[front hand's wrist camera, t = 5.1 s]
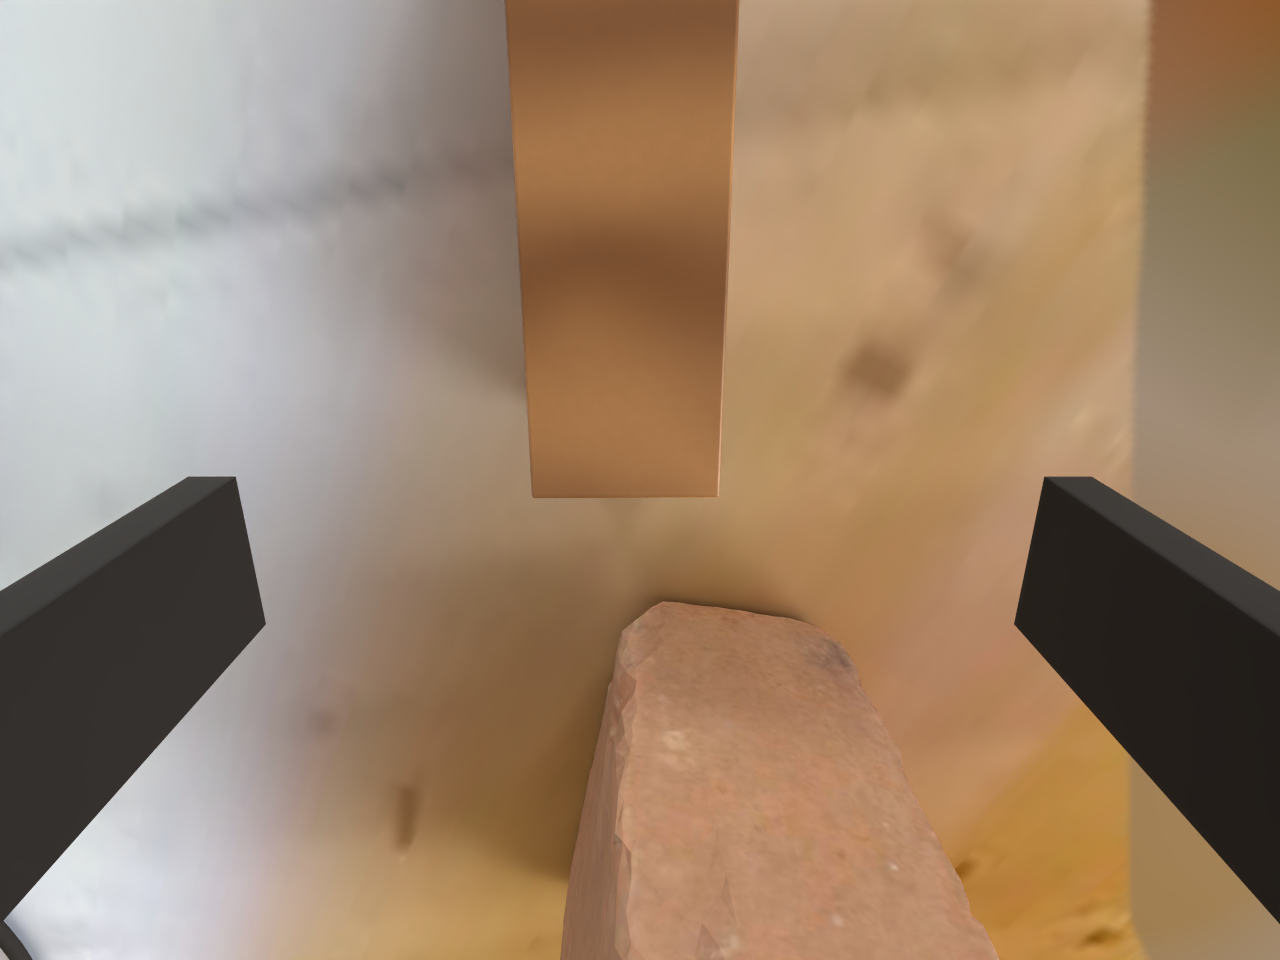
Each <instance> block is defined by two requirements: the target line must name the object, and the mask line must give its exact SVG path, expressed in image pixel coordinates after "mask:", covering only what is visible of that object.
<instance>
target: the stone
mask: <svg viewBox="0 0 1280 960" xmlns="http://www.w3.org/2000/svg"><path fill="white" fill-rule="evenodd" d="M560 960H1000V959H999V957H998V955H997V953H996V951H995V949H994V947H993V945H992V943H991V941H990V938H989V936H988V934H987V932H986V930H985V928H984V926H983V925H982V924H981V923H980V922H979V921H978V920H977V919H975V918H974V917H973V916H972V915H971V912H970V907H969V902H968V899H967V896H966V893H965V890H964V887H963V884H962V882H961V880H960V878H959V877H958V875H957V873H956V871H955V870H954V868H953V866H952V865H951V863H950V861H949V860H948V858H947V856H946V854H945V853H944V851H943V849H942V846H941V844H940V842H939V840H938V838H937V836H936V834H935V832H934V830H933V829H932V827H931V825H930V823H929V821H928V820H927V818H926V816H925V814H924V812H923V811H922V809H921V807H920V805H919V803H918V801H917V799H916V797H915V795H914V793H913V791H912V788H911V786H910V784H909V782H908V780H907V778H906V776H905V773H904V771H903V768H902V761H901V755H900V750H899V749H898V747H897V746H896V745H895V743H894V742H893V740H892V739H891V737H890V735H889V733H888V731H887V728H886V726H885V724H884V722H883V720H882V718H881V716H880V715H879V713H878V712H877V710H876V708H875V707H874V705H873V703H872V702H871V700H870V699H869V697H868V696H867V694H866V693H865V691H864V690H863V688H862V685H861V681H860V677H859V673H858V670H857V668H856V666H855V664H854V662H853V660H852V659H851V658H850V656H849V655H848V653H847V651H846V650H845V648H844V646H843V645H842V643H841V642H839V641H837V640H835V639H833V638H831V637H830V636H829V635H828V634H827V633H826V632H824V631H823V630H822V629H821V628H820V627H817V626H814V625H811V624H808V623H805V622H802V621H798V620H794V619H791V618H785V617H776V616H769V615H762V614H756V613H752V612H747V611H742V610H732V609H726V608H721V607H711V606H700V605H692V604H685V603H681V602H665V601H663V602H661V603H659V604H657V605H655V606H653V607H651V608H650V609H649V610H647V611H646V612H645V613H644V614H643V615H641V616H640V617H639V618H638V619H636V620H635V621H634V622H633V623H631V624H630V625H629V626H628V627H626V628H625V629H624V630H623V631H622V632H621V634H620V636H619V641H618V645H617V650H616V655H615V663H614V672H613V679H612V681H611V682H610V684H609V685H608V691H607V696H606V702H605V708H604V713H603V718H602V723H601V728H600V732H599V736H598V740H597V745H596V750H595V755H594V760H593V764H592V767H591V769H590V774H589V779H588V784H587V790H586V795H585V800H584V804H583V809H582V813H581V818H580V824H579V830H578V836H577V841H576V845H575V850H574V855H573V860H572V865H571V872H570V878H569V885H568V892H567V900H566V907H565V915H564V928H563V937H562V947H561V958H560Z"/></svg>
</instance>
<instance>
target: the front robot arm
mask: <svg viewBox="0 0 1280 960" xmlns="http://www.w3.org/2000/svg"><path fill="white" fill-rule="evenodd" d="M265 625H266V623H265V618H264V613H263V608H262V603H261V598H260V593H259V588H258V583H257V579H256V574H255V569H254V564H253V559H252V554H251V549H250V544H249V540H248V535H247V530H246V525H245V520H244V515H243V510H242V505H241V501H240V496H239V491H238V486H237V481H236V477H187V478H186V479H184V480H182V481H181V482H179V483H177V484H176V485H174V486H172V487H171V488H169V489H167V490H166V491H164V492H163V493H161V494H159V495H158V496H156V497H154V498H153V499H151V500H149V501H148V502H146V503H144V504H143V505H141V506H140V507H138V508H136V509H135V510H133V511H131V512H130V513H128V514H126V515H125V516H123V517H121V518H120V519H118V520H117V521H115V522H113V523H112V524H110V525H108V526H107V527H105V528H103V529H102V530H100V531H98V532H97V533H95V534H94V535H92V536H90V537H89V538H87V539H85V540H84V541H82V542H80V543H79V544H77V545H75V546H74V547H72V548H71V549H69V550H67V551H66V552H64V553H62V554H61V555H59V556H57V557H56V558H54V559H52V560H51V561H49V562H48V563H46V564H44V565H43V566H41V567H39V568H38V569H36V570H34V571H33V572H31V573H29V574H28V575H26V576H25V577H23V578H21V579H20V580H18V581H16V582H15V583H13V584H11V585H10V586H8V587H6V588H5V589H3V590H2V591H0V948H1V949H2V950H3V952H4V953H5V954H6V955H7V957H8V958H9V960H32V958H31V957H30V955H29V953H28V952H27V950H26V949H25V947H24V946H23V944H22V943H21V942H20V940H19V939H18V938H17V936H16V935H15V934H14V933H13V931H12V930H11V929H10V928H9V927H8V926H7V925H6V924H5V922H4V921H3V920H4V919H5V918H6V917H7V916H8V915H9V913H10V912H11V911H12V910H13V909H14V908H15V907H16V906H17V904H18V903H19V902H20V901H21V900H22V899H23V898H24V897H25V895H26V894H27V893H28V892H29V891H30V890H31V889H32V887H33V886H34V885H35V884H36V883H37V882H38V881H39V880H40V878H41V877H42V876H43V875H44V874H45V873H46V872H47V871H48V869H49V868H50V867H51V866H52V865H53V864H54V863H55V862H56V860H57V859H58V858H59V857H60V856H61V855H62V854H63V853H64V851H65V850H66V849H67V848H68V847H69V846H70V845H71V843H72V842H73V841H74V840H75V839H76V838H77V837H78V836H79V834H80V833H81V832H82V831H83V830H84V829H85V828H86V827H87V825H88V824H89V823H90V822H91V821H92V820H93V819H94V818H95V816H96V815H97V814H98V813H99V812H100V811H101V810H102V808H103V807H104V806H105V805H106V804H107V803H108V802H109V801H110V799H111V798H112V797H113V796H114V795H115V794H116V793H117V792H118V790H119V789H120V788H121V787H122V786H123V785H124V784H125V783H126V781H127V780H128V779H129V778H130V777H131V776H132V775H133V773H134V772H135V771H136V770H137V769H138V768H139V767H140V766H141V764H142V763H143V762H144V761H145V760H146V759H147V758H148V757H149V755H150V754H151V753H152V752H153V751H154V750H155V749H156V748H157V746H158V745H159V744H160V743H161V742H162V741H163V740H164V739H165V737H166V736H167V735H168V734H169V733H170V732H171V731H172V729H173V728H174V727H175V726H176V725H177V724H178V723H179V722H180V720H181V719H182V718H183V717H184V716H185V715H186V714H187V713H188V711H189V710H190V709H191V708H192V707H193V706H194V705H195V704H196V702H197V701H198V700H199V699H200V698H201V697H202V696H203V694H204V693H205V692H206V691H207V690H208V689H209V688H210V687H211V685H212V684H213V683H214V682H215V681H216V680H217V679H218V678H219V676H220V675H221V674H222V673H223V672H224V671H225V670H226V669H227V667H228V666H229V665H230V664H231V663H232V662H233V661H234V659H235V658H236V657H237V656H238V655H239V654H240V653H241V652H242V650H243V649H244V648H245V647H246V646H247V645H248V644H249V643H250V641H251V640H252V639H253V638H254V637H255V636H256V635H257V634H258V632H259V631H260V630H261V629H262V628H263V627H264V626H265ZM1014 625H1015V626H1016V627H1017V628H1018V629H1019V630H1020V631H1021V632H1022V634H1023V635H1024V636H1025V637H1026V638H1027V639H1028V640H1029V641H1030V643H1031V644H1032V645H1033V646H1034V647H1035V648H1036V649H1037V650H1038V652H1039V653H1040V654H1041V655H1042V656H1043V657H1044V658H1045V659H1046V661H1047V662H1048V663H1049V664H1050V665H1051V666H1052V667H1053V669H1054V670H1055V671H1056V672H1057V673H1058V674H1059V675H1060V676H1061V678H1062V679H1063V680H1064V681H1065V682H1066V683H1067V684H1068V685H1069V687H1070V688H1071V689H1072V690H1073V691H1074V692H1075V693H1076V694H1077V696H1078V697H1079V698H1080V699H1081V700H1082V701H1083V702H1084V704H1085V705H1086V706H1087V707H1088V708H1089V709H1090V710H1091V711H1092V713H1093V714H1094V715H1095V716H1096V717H1097V718H1098V719H1099V720H1100V722H1101V723H1102V724H1103V725H1104V726H1105V727H1106V728H1107V729H1108V731H1109V732H1110V733H1111V734H1112V735H1113V736H1114V737H1115V739H1116V740H1117V741H1118V742H1119V743H1120V744H1121V745H1122V746H1123V748H1124V749H1125V750H1126V751H1127V752H1128V753H1129V754H1130V755H1131V757H1132V758H1133V759H1134V760H1135V761H1136V762H1137V763H1138V764H1139V765H1140V767H1141V768H1142V769H1143V770H1144V771H1145V772H1146V773H1147V775H1148V776H1149V777H1150V778H1151V779H1152V780H1153V781H1154V782H1155V784H1156V785H1157V786H1158V787H1159V788H1160V789H1161V790H1162V791H1163V793H1164V794H1165V795H1166V796H1167V797H1168V798H1169V799H1170V801H1171V802H1172V803H1173V804H1174V805H1175V806H1176V807H1177V808H1178V810H1179V811H1180V812H1181V813H1182V814H1183V815H1184V816H1185V817H1186V819H1187V820H1188V821H1189V822H1190V823H1191V824H1192V825H1193V827H1194V828H1195V829H1196V830H1197V831H1198V832H1199V833H1200V834H1201V836H1202V837H1203V838H1204V839H1205V840H1206V841H1207V842H1208V843H1209V845H1210V846H1211V847H1212V848H1213V849H1214V850H1215V851H1216V852H1217V854H1218V855H1219V856H1220V857H1221V858H1222V859H1223V860H1224V861H1225V863H1226V864H1227V865H1228V866H1229V867H1230V868H1231V869H1232V871H1233V872H1234V873H1235V874H1236V875H1237V876H1238V877H1239V878H1240V880H1241V881H1242V882H1243V883H1244V884H1245V885H1246V886H1247V887H1248V889H1249V890H1250V891H1251V892H1252V893H1253V894H1254V895H1255V897H1256V898H1257V899H1258V900H1259V901H1260V902H1261V903H1262V904H1263V906H1264V907H1265V908H1266V909H1267V910H1268V911H1269V912H1270V913H1271V915H1272V916H1273V917H1274V918H1275V919H1276V920H1277V921H1278V922H1279V924H1280V591H1278V590H1277V589H1275V588H1274V587H1272V586H1270V585H1269V584H1267V583H1265V582H1264V581H1262V580H1260V579H1259V578H1257V577H1255V576H1254V575H1252V574H1251V573H1249V572H1247V571H1246V570H1244V569H1242V568H1241V567H1239V566H1237V565H1236V564H1234V563H1232V562H1231V561H1229V560H1227V559H1226V558H1224V557H1223V556H1221V555H1219V554H1218V553H1216V552H1214V551H1213V550H1211V549H1209V548H1208V547H1206V546H1205V545H1203V544H1201V543H1200V542H1198V541H1196V540H1195V539H1193V538H1191V537H1190V536H1188V535H1186V534H1185V533H1183V532H1182V531H1180V530H1178V529H1177V528H1175V527H1173V526H1172V525H1170V524H1168V523H1167V522H1165V521H1163V520H1162V519H1160V518H1159V517H1157V516H1155V515H1154V514H1152V513H1150V512H1149V511H1147V510H1145V509H1144V508H1142V507H1140V506H1139V505H1137V504H1136V503H1134V502H1132V501H1131V500H1129V499H1127V498H1126V497H1124V496H1122V495H1121V494H1119V493H1117V492H1116V491H1114V490H1113V489H1111V488H1109V487H1108V486H1106V485H1104V484H1103V483H1101V482H1099V481H1098V480H1096V479H1094V478H1093V477H1044V481H1043V486H1042V491H1041V496H1040V501H1039V505H1038V510H1037V515H1036V520H1035V525H1034V530H1033V535H1032V540H1031V544H1030V549H1029V554H1028V559H1027V564H1026V569H1025V574H1024V579H1023V583H1022V588H1021V593H1020V598H1019V603H1018V608H1017V613H1016V618H1015V623H1014Z"/></svg>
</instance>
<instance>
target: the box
mask: <svg viewBox="0 0 1280 960" xmlns="http://www.w3.org/2000/svg"><path fill="white" fill-rule="evenodd" d="M505 16H506V34H507V52H508V70H509V88H510V106H511V124H512V142H513V160H514V179H515V197H516V215H517V233H518V251H519V269H520V287H521V305H522V323H523V341H524V360H525V378H526V396H527V414H528V432H529V450H530V468H531V486H532V496H533V497H534V498H603V497H718V496H719V489H720V464H721V439H722V415H723V390H724V365H725V341H726V316H727V291H728V267H729V242H730V217H731V193H732V168H733V143H734V119H735V94H736V69H737V45H738V20H739V0H505Z"/></svg>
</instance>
